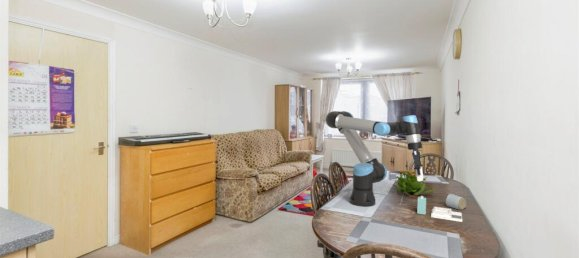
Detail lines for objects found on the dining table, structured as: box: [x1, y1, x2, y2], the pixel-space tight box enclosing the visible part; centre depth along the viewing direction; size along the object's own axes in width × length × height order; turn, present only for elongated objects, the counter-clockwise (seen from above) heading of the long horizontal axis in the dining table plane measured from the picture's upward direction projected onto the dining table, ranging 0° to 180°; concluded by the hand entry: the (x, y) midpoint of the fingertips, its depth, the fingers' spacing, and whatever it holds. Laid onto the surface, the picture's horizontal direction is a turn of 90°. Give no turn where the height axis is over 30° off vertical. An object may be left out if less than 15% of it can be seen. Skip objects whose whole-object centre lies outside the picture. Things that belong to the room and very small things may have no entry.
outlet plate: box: [430, 206, 463, 223], centre depth 155 cm, size 14×12×3 cm
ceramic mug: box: [445, 193, 467, 211], centre depth 169 cm, size 11×8×8 cm
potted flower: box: [392, 169, 436, 199], centre depth 192 cm, size 25×24×18 cm
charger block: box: [416, 195, 427, 215], centre depth 159 cm, size 4×4×9 cm
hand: (420, 179), depth 165 cm, fingers open, 13 cm apart
